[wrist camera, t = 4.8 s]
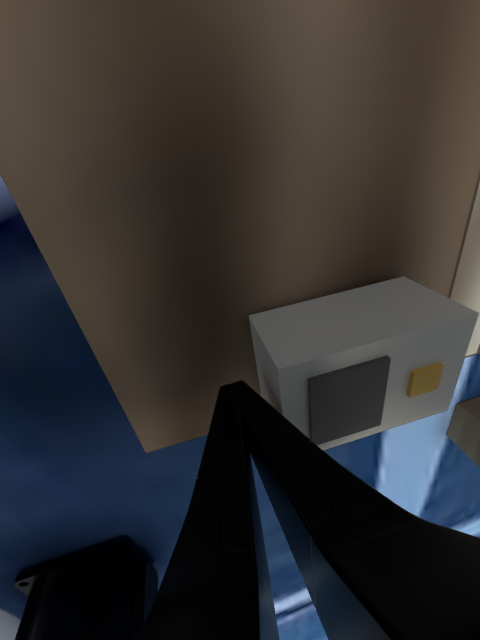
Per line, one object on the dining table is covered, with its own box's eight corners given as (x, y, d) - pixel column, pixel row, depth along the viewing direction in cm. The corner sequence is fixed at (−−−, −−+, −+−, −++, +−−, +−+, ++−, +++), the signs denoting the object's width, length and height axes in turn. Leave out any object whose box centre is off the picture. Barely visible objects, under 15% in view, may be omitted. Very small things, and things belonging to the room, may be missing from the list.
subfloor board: (147, 425, 14) (145, 455, 12) (-169, -236, 5) (-300, -391, 3) (507, 321, 16) (539, 337, 15) (727, -245, 7) (858, -339, 6)
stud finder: (261, 397, 12) (289, 465, 9) (248, 315, 10) (280, 373, 7) (390, 359, 13) (451, 413, 10) (403, 276, 11) (484, 315, 8)
